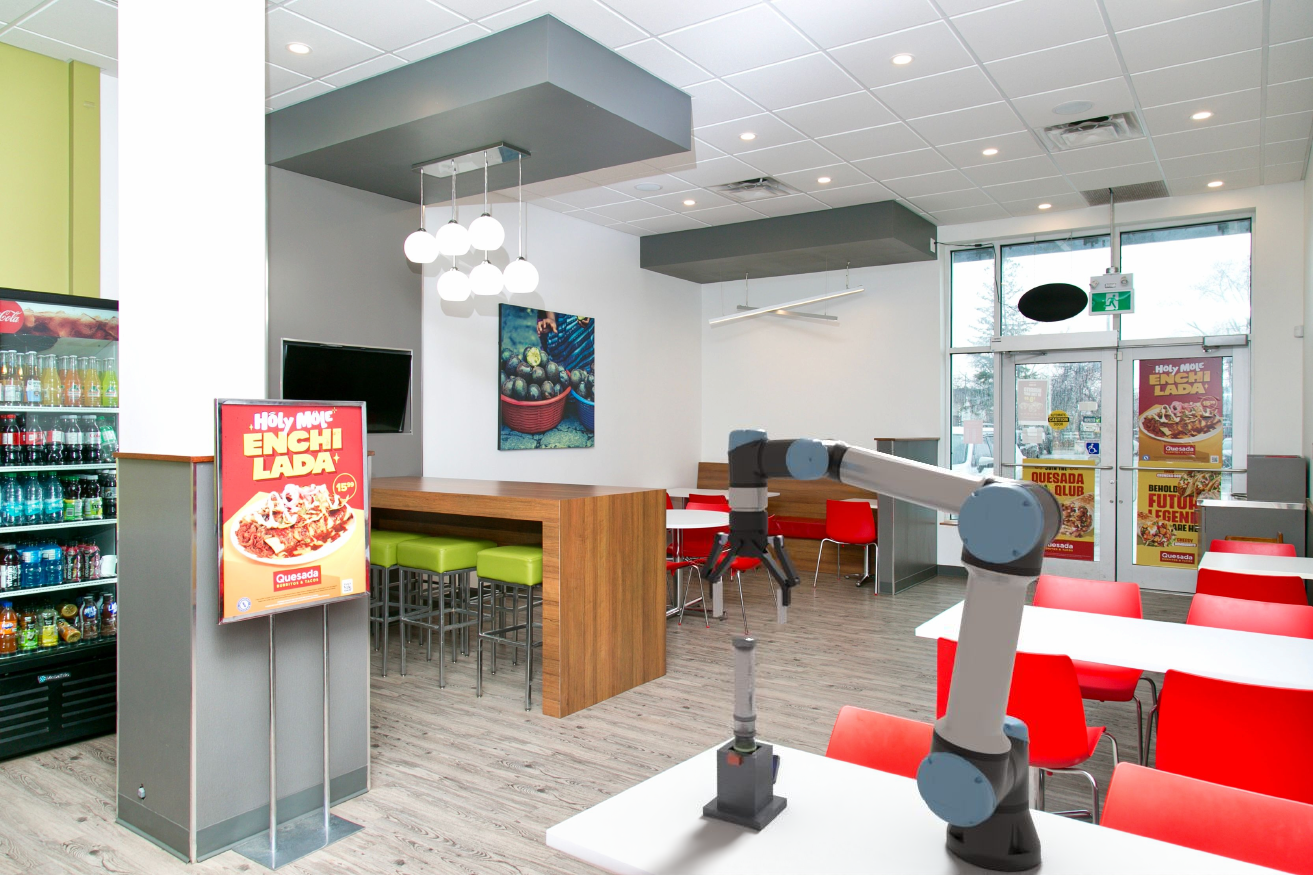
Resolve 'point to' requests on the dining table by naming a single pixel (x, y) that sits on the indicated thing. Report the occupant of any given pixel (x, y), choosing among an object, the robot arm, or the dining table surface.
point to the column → (744, 694)
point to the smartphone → (775, 767)
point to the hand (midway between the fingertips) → (749, 619)
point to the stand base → (745, 787)
